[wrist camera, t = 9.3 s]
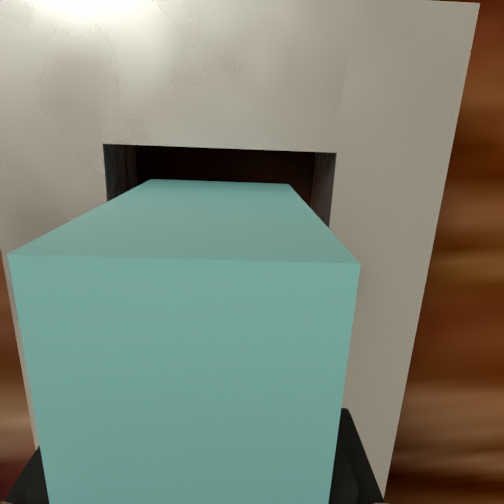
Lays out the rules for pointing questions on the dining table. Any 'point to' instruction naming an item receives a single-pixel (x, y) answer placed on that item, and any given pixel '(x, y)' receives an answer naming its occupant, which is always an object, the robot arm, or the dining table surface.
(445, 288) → the dining table surface
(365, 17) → the grey rectangular frame
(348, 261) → the teal notched block
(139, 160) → the dining table surface
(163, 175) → the dining table surface
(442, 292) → the dining table surface
